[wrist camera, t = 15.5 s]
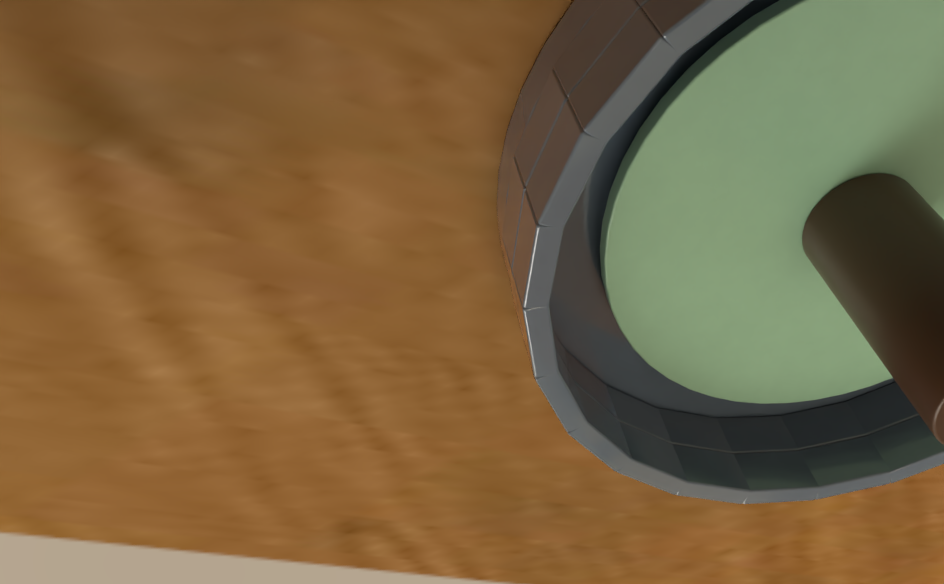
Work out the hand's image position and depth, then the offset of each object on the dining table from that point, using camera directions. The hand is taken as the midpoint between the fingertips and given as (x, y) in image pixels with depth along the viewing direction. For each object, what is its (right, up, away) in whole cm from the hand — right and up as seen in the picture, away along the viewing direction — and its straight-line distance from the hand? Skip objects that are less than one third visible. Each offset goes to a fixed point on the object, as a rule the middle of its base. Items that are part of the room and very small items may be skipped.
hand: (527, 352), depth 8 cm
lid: (+9, +2, +14) cm, 17 cm away
